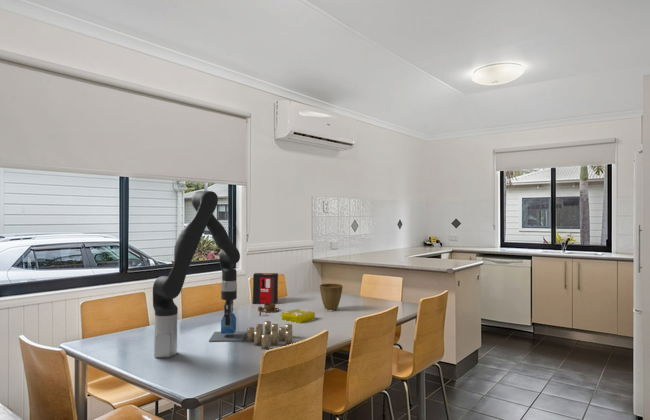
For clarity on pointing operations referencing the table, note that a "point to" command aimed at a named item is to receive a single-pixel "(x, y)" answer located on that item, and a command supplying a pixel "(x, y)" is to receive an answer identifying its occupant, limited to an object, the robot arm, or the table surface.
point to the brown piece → (267, 308)
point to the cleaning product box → (265, 288)
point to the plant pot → (331, 295)
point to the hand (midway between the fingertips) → (228, 323)
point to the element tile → (298, 315)
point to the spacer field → (273, 333)
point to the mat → (228, 337)
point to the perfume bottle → (228, 328)
